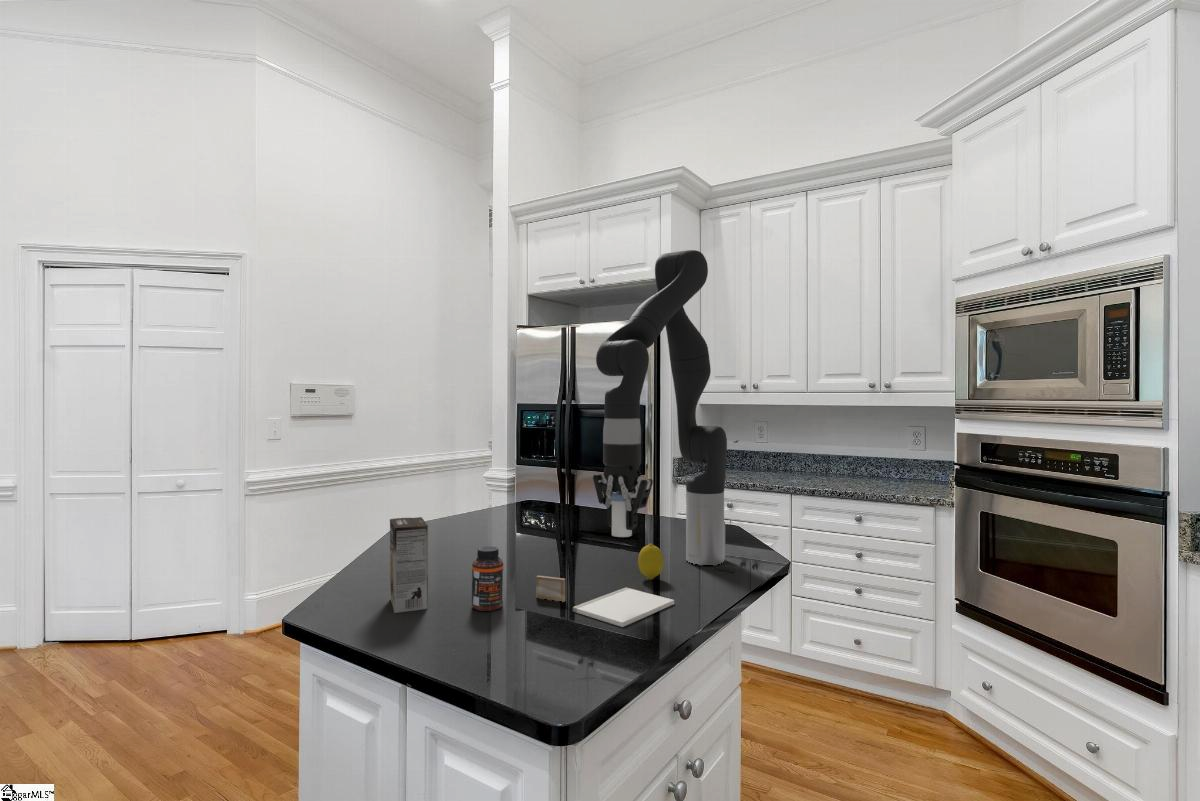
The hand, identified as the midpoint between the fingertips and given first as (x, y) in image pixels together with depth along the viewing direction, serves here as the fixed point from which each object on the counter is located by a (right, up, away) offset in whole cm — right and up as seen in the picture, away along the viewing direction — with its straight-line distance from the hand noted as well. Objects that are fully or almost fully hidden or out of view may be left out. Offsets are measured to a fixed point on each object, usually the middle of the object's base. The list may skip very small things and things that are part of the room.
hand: (621, 527), depth 123 cm
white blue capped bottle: (0, -1, 0) cm, 1 cm away
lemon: (+7, -15, +14) cm, 21 cm away
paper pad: (0, -15, -4) cm, 15 cm away
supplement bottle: (-26, -15, -4) cm, 30 cm away
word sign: (-14, -15, 0) cm, 20 cm away
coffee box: (-42, -15, -2) cm, 44 cm away
